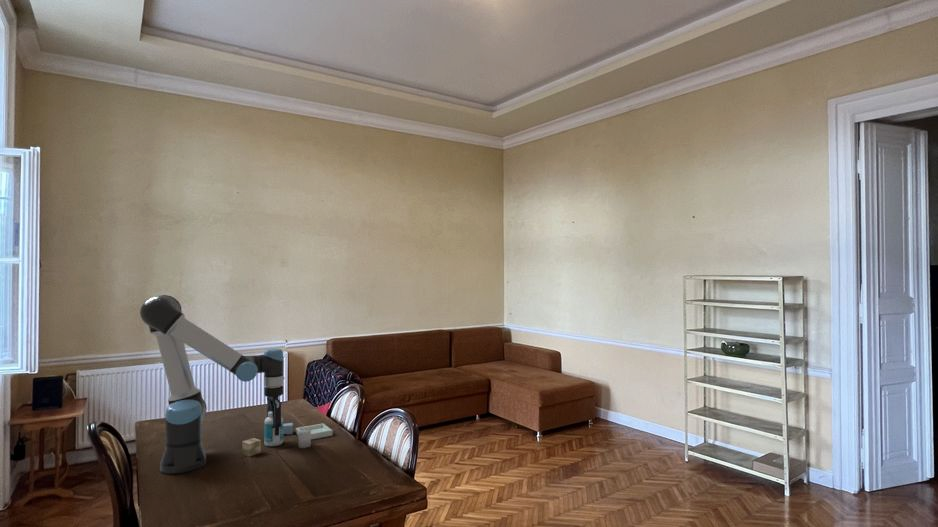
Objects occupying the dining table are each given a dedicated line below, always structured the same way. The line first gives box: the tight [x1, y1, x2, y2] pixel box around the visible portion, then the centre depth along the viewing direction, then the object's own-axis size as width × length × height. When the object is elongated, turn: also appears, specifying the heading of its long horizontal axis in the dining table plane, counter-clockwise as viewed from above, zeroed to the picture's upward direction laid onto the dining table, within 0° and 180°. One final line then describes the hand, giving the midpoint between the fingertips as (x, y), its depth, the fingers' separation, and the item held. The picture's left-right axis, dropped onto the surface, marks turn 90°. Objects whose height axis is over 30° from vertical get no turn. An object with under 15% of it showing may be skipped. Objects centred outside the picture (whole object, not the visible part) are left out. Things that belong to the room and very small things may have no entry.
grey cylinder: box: [297, 430, 312, 449], centre depth 212 cm, size 5×5×6 cm
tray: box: [295, 422, 334, 440], centre depth 228 cm, size 13×13×2 cm
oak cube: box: [241, 437, 262, 457], centre depth 204 cm, size 5×5×5 cm
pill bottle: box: [263, 411, 284, 447], centre depth 215 cm, size 8×7×14 cm
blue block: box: [283, 422, 294, 436], centre depth 229 cm, size 6×4×4 cm, turn 108°
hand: (273, 440), depth 215 cm, fingers closed on pill bottle, 7 cm apart
